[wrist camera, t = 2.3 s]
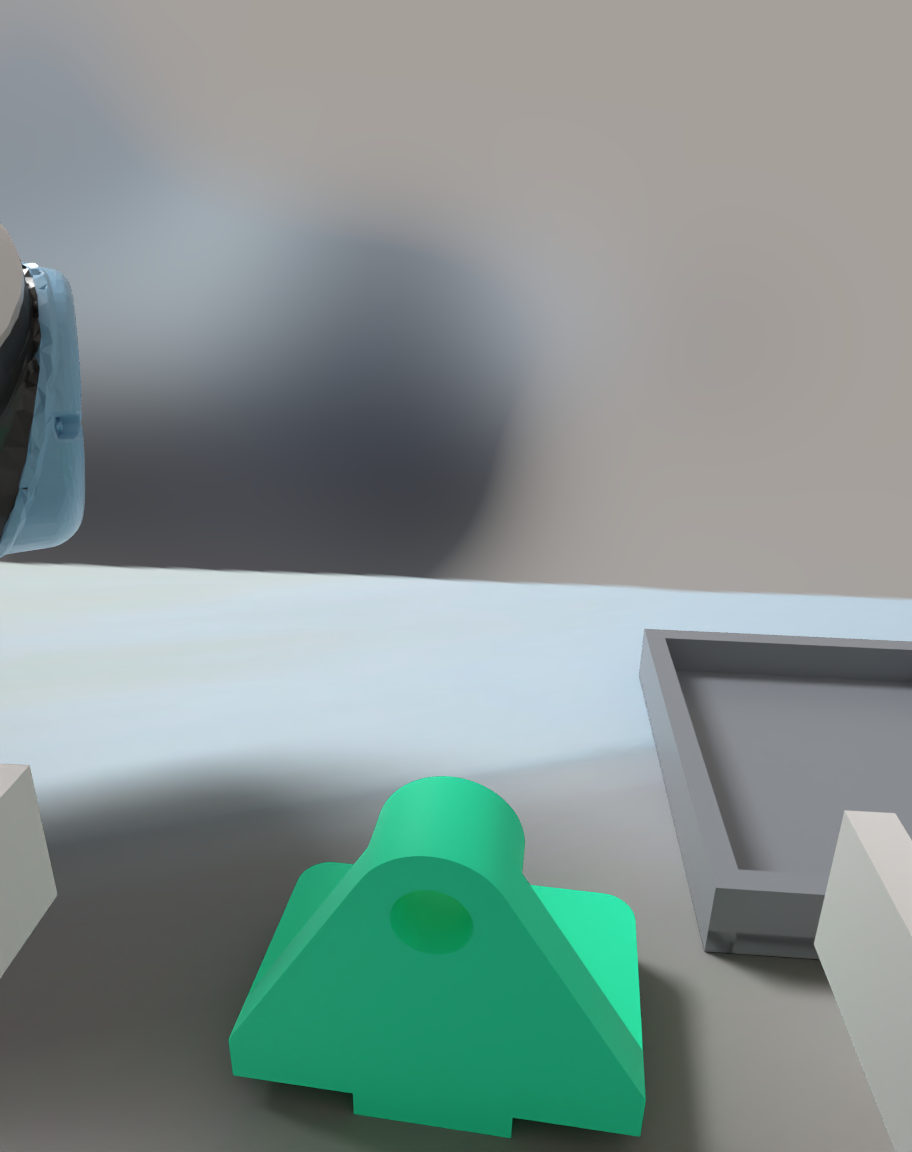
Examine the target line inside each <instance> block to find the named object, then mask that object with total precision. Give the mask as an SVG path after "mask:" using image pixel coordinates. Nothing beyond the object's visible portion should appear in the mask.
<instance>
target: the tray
mask: <svg viewBox="0 0 912 1152" xmlns="http://www.w3.org/2000/svg"><path fill="white" fill-rule="evenodd" d="M639 677H640V682H641V686H642V690H643V694H644V698H645V703H646V707H647V711H648V715H649V720H650V724H651V728H652V732H653V736H654V741H655V745H656V749H657V753H658V757H659V762H660V766H661V770H662V774H663V779H664V783H665V787H666V791H667V795H668V800H669V804H670V808H671V812H672V817H673V821H674V825H675V829H676V833H677V838H678V842H679V846H680V850H681V854H682V859H683V863H684V867H685V871H686V876H687V880H688V884H689V888H690V892H691V897H692V901H693V905H694V909H695V913H696V918H697V922H698V926H699V930H700V935H701V939H702V943H703V947H704V951H708V952H722V953H737V954H751V955H765V956H780V957H794V958H808V959H819V956H818V954H817V951H816V949H815V946H814V941H815V937H816V932H817V928H818V924H819V919H820V915H821V910H822V906H823V902H824V897H825V893H826V889H827V884H828V880H829V876H830V871H831V867H832V863H833V858H834V854H835V849H836V845H837V841H838V836H839V832H840V828H841V823H842V819H843V815H844V810H847V811H865V812H883V813H895V814H896V815H897V817H898V819H899V820H900V822H901V824H902V825H903V827H904V828H905V830H906V832H907V833H908V835H909V837H910V838H911V840H912V642H908V641H887V640H866V639H845V638H824V637H803V636H782V635H761V634H740V633H719V632H698V631H677V630H656V629H644V637H643V645H642V654H641V663H640V671H639Z"/></svg>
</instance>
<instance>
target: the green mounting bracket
mask: <svg viewBox="0 0 912 1152" xmlns="http://www.w3.org/2000/svg"><path fill="white" fill-rule="evenodd" d="M524 850H525V837H524V832H523V828H522V826H521V823H520V821H519V819H518V817H517V815H516V814H515V812H514V811H513V809H512V808H511V807H510V806H509V805H508V804H507V803H506V802H505V801H504V800H503V799H502V798H501V797H500V796H499V795H497V794H496V793H494V792H493V791H492V790H490V789H488V788H486V787H484V786H482V785H480V784H478V783H476V782H473V781H470V780H466V779H462V778H457V777H447V776H436V777H427V778H423V779H419V780H416V781H413V782H411V783H408V784H406V785H404V786H403V787H401V788H400V789H398V790H397V791H396V792H394V793H393V794H392V795H391V796H390V797H389V799H388V800H387V801H386V802H385V804H384V806H383V808H382V810H381V812H380V815H379V818H378V820H377V823H376V826H375V829H374V832H373V835H372V838H371V841H370V843H369V846H368V848H367V849H366V850H365V851H364V853H363V854H362V855H361V856H360V858H359V859H358V860H357V861H356V862H355V864H346V863H338V862H324V863H319V864H316V865H314V866H312V867H310V868H308V869H307V870H305V871H304V872H303V873H302V874H301V875H300V877H299V879H298V881H297V883H296V885H295V888H294V890H293V892H292V894H291V897H290V899H289V901H288V904H287V906H286V908H285V911H284V913H283V915H282V917H281V920H280V922H279V924H278V927H277V929H276V931H275V934H274V936H273V938H272V940H271V943H270V945H269V947H268V950H267V952H266V954H265V957H264V959H263V961H262V963H261V966H260V968H259V970H258V973H257V975H256V977H255V980H254V982H253V984H252V986H251V989H250V991H249V993H248V996H247V998H246V1000H245V1003H244V1005H243V1007H242V1009H241V1012H240V1014H239V1016H238V1019H237V1021H236V1023H235V1026H234V1028H233V1030H232V1032H231V1035H230V1037H229V1039H228V1041H229V1048H230V1056H231V1064H232V1071H233V1075H234V1076H240V1077H247V1078H254V1079H260V1080H267V1081H273V1082H280V1083H287V1084H293V1085H300V1086H307V1087H313V1088H320V1089H326V1090H333V1091H340V1092H346V1093H353V1107H354V1114H357V1115H364V1116H370V1117H376V1118H383V1119H389V1120H396V1121H402V1122H409V1123H415V1124H422V1125H428V1126H435V1127H441V1128H448V1129H454V1130H461V1131H467V1132H473V1133H480V1134H486V1135H493V1136H499V1137H506V1138H511V1133H512V1121H513V1118H519V1119H525V1120H532V1121H539V1122H545V1123H552V1124H559V1125H565V1126H572V1127H578V1128H585V1129H592V1130H598V1131H605V1132H612V1133H618V1134H625V1135H631V1136H638V1137H640V1135H641V1129H642V1122H643V1116H644V1109H645V1102H646V1095H645V1078H644V1060H643V1043H642V1026H641V1009H640V992H639V974H638V957H637V940H636V923H635V916H634V913H633V911H632V910H631V908H630V907H629V906H628V905H627V904H626V903H625V902H624V901H622V900H621V899H619V898H617V897H615V896H612V895H609V894H604V893H595V892H587V891H578V890H569V889H561V888H552V887H544V886H535V885H530V884H529V883H528V881H527V880H526V878H525V877H524V875H523V874H522V869H523V860H524Z"/></svg>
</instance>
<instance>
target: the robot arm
mask: <svg viewBox="0 0 912 1152" xmlns="http://www.w3.org/2000/svg"><path fill="white" fill-rule="evenodd" d="M80 378H81V377H80V362H79V349H78V339H77V327H76V317H75V309H74V301H73V295H72V290H71V286H70V284H69V281H68V280H67V278H66V277H65V276H64V275H63V274H61V273H60V272H58V271H57V270H54V269H49V268H42V267H40V266H38V265H36V264H35V263H23V262H22V263H21V260H20V258H19V256H18V253H17V251H16V248H15V246H14V244H13V242H12V240H11V237H10V235H9V233H8V232H7V230H6V229H5V228H4V227H3V225H2V224H1V223H0V558H1V557H2V556H3V555H5V554H11V553H17V552H23V551H30V550H36V549H43V548H49V547H54V546H57V545H59V544H61V543H63V542H65V541H67V540H68V539H69V538H70V537H72V536H73V535H74V533H75V532H76V531H77V530H78V528H79V526H80V524H81V522H82V519H83V513H84V502H85V464H84V463H85V462H84V440H83V429H82V426H81V419H82V408H81V395H82V394H81V379H80ZM56 896H57V890H56V885H55V881H54V876H53V871H52V867H51V862H50V858H49V853H48V848H47V844H46V839H45V834H44V830H43V825H42V821H41V816H40V811H39V807H38V802H37V797H36V793H35V788H34V784H33V779H32V774H31V770H30V765H16V764H0V978H1V977H2V975H3V974H4V972H5V971H6V970H7V968H8V967H9V965H10V964H11V962H12V961H13V959H14V958H15V956H16V955H17V953H18V952H19V951H20V949H21V948H22V946H23V945H24V943H25V942H26V940H27V939H28V937H29V936H30V934H31V933H32V932H33V930H34V929H35V927H36V926H37V924H38V923H39V921H40V920H41V918H42V917H43V915H44V914H45V913H46V911H47V910H48V908H49V907H50V905H51V904H52V902H53V901H54V899H55V898H56ZM814 946H815V949H816V951H817V954H818V956H819V959H820V961H821V964H822V966H823V969H824V971H825V974H826V976H827V979H828V982H829V984H830V987H831V989H832V992H833V994H834V997H835V999H836V1002H837V1004H838V1007H839V1010H840V1012H841V1015H842V1017H843V1020H844V1022H845V1025H846V1027H847V1030H848V1032H849V1035H850V1038H851V1040H852V1043H853V1045H854V1048H855V1050H856V1053H857V1055H858V1058H859V1060H860V1063H861V1065H862V1068H863V1071H864V1073H865V1076H866V1078H867V1081H868V1083H869V1086H870V1088H871V1091H872V1093H873V1096H874V1099H875V1101H876V1104H877V1106H878V1109H879V1111H880V1114H881V1116H882V1119H883V1121H884V1124H885V1127H886V1129H887V1132H888V1134H889V1137H890V1139H891V1142H892V1144H893V1147H894V1149H895V1152H912V840H911V838H910V837H909V835H908V833H907V832H906V830H905V828H904V827H903V825H902V824H901V822H900V820H899V819H898V817H897V815H896V814H895V813H883V812H865V811H847V810H844V815H843V819H842V823H841V828H840V832H839V836H838V841H837V845H836V849H835V854H834V858H833V863H832V867H831V871H830V876H829V880H828V884H827V889H826V893H825V897H824V902H823V906H822V910H821V915H820V919H819V924H818V928H817V932H816V937H815V941H814Z"/></svg>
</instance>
